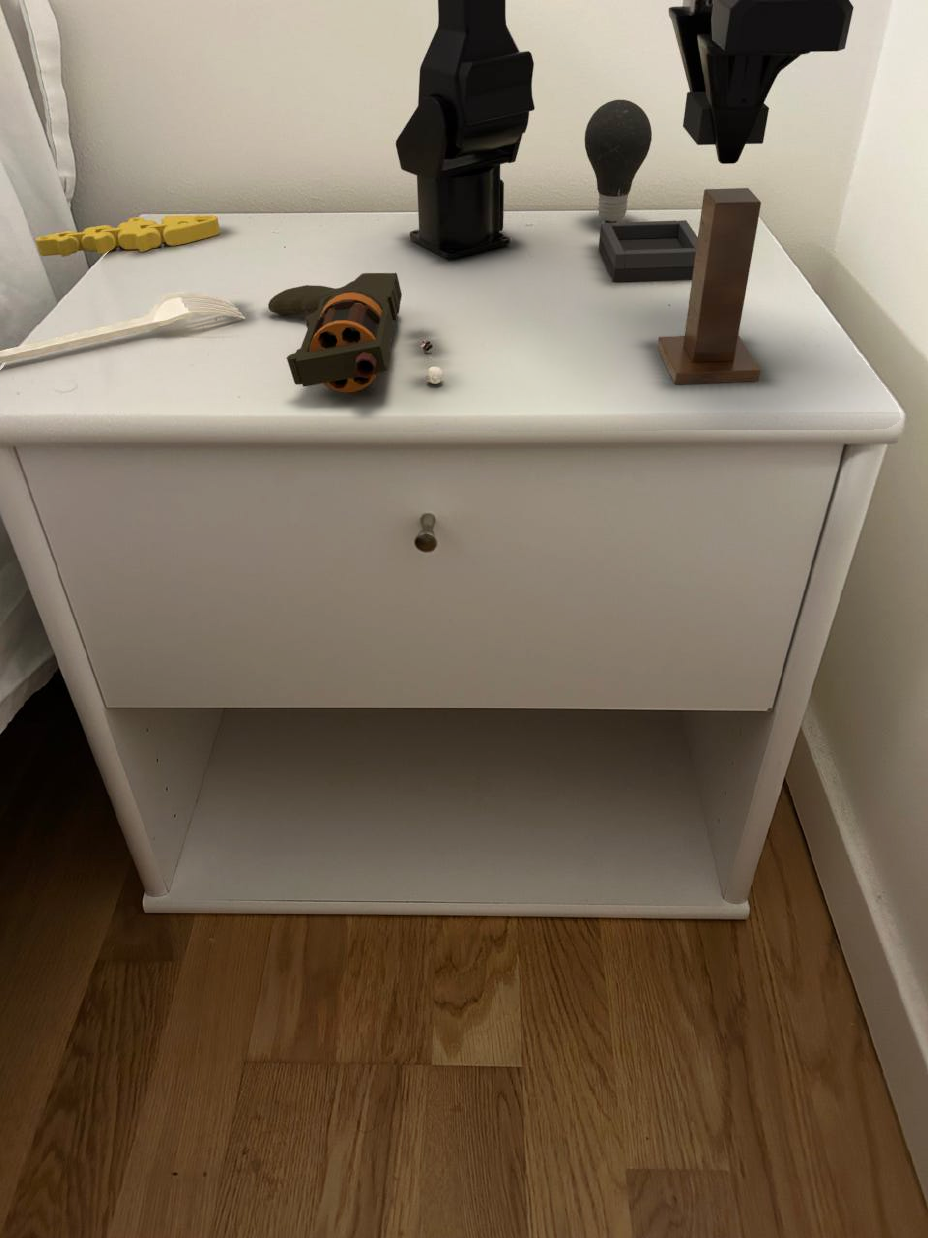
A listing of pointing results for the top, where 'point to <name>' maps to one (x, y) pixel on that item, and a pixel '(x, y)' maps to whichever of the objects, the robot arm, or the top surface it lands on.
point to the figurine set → (433, 373)
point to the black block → (701, 126)
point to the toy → (131, 235)
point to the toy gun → (343, 330)
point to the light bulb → (616, 153)
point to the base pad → (648, 250)
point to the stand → (717, 294)
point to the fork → (131, 324)
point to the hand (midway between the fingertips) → (719, 152)
